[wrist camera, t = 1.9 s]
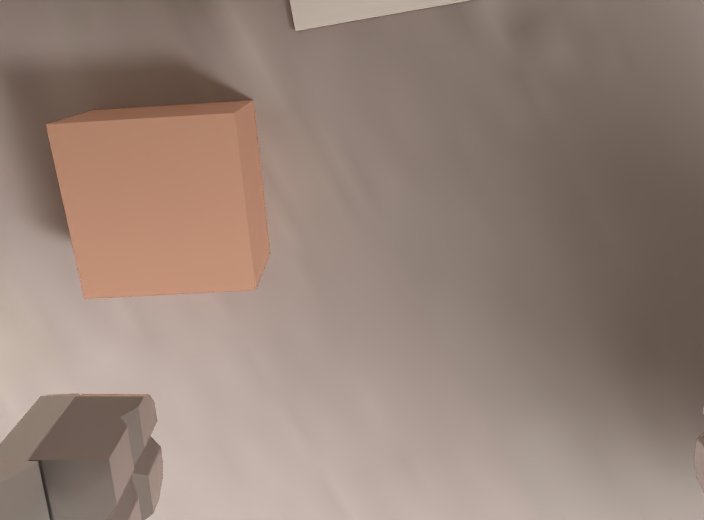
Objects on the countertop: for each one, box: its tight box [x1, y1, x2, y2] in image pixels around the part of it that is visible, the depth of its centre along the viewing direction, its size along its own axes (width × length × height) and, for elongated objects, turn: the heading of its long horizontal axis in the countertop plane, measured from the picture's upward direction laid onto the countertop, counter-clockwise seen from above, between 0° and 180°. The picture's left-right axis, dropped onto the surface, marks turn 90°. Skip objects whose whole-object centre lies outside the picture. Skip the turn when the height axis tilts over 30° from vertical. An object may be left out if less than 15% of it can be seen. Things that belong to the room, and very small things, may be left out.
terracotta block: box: [46, 100, 270, 299], centre depth 23 cm, size 6×6×4 cm
